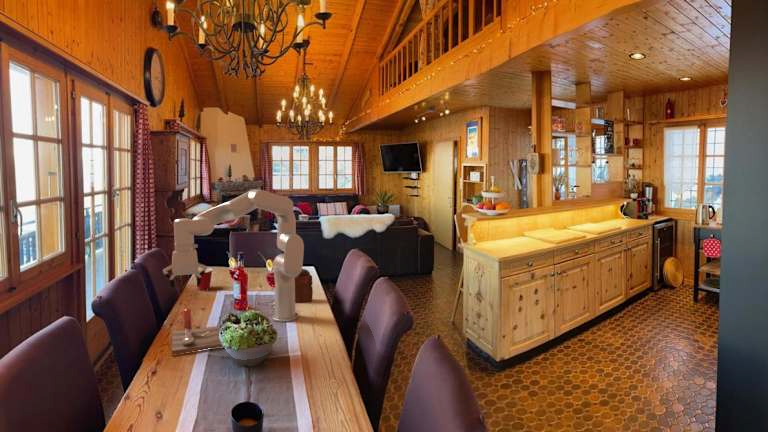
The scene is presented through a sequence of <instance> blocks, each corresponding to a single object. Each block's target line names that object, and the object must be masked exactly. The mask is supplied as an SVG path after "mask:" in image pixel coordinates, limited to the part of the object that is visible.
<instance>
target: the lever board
mask: <svg viewBox="0 0 768 432" xmlns="http://www.w3.org/2000/svg"><path fill="white" fill-rule="evenodd" d="M219 329H220V330H221V328H220V325H216V326H209V327H202V328H201V327H200V328H192V329H191V337H194V344H192V345H188V346H185V345H183V338H185V331H184V330H177V331H172V343H171V356H172V355H174V354H180V353H186V352H192V351H198V350H203V349H208V348H216V347H222V345H221V342H220V340H219ZM174 356H175V355H174Z"/></svg>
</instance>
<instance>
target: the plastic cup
mask: <svg viewBox="0 0 768 432" xmlns="http://www.w3.org/2000/svg"><path fill="white" fill-rule="evenodd" d="M202 270H203V268H198V272H199V273H200V272H201V271H202ZM213 270H214V269H213V268H212V267H211V268H210V267H209V268H208V267H207V269H206V271H205V273H204V274H203V275H202V276H201V278H200V279H201V284H200V285H199V287H198V290H199V291H201V290H205V291H208V290H207V289H209V290H210V287H211V282H212V274H213ZM194 275H195V278H196V280H197V275H196V274H194Z"/></svg>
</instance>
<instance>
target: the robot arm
mask: <svg viewBox="0 0 768 432" xmlns="http://www.w3.org/2000/svg"><path fill="white" fill-rule="evenodd" d="M256 209H259V210H263V211H266V212H271V213H272V214H274V215H275V217H276V220H277V235H276V246H277V248H278V250H280V251H282V252H283V253H279V254H278V255H276V256H275V258H274V260H273V261H272V270H273V276H274V298H275V299H274V304H275V305H274V306H275V308H274V310H275V311H274V314H273V315H272V320H273V321H275V322H280V323H282V322H292V321H295V320H297V319H298V318H299V313H298V312H296V302H295V278H294V277H296V276H298V275H299V274H300V272H301V270H302V269H303V267H304V265H303V264H304V255H305V253H304V251H305V243H304V240H303V238H302V237H301V236H300V235H298V234H297V231H296V229H297V227H296V225H297V224H296V223H297V221H296V216H295V212H294V211H293V210H294V202H293V200H292V199H291V198H289V197H287V196H284V195H280V194H277V193H273V192H270V191H268V190H263V189H257V188H254V189H251V190H248V191H246V192H245V193H243V194H241V195H239V196H237V197H234V198H233V199H230V200H229V201H227V202H224V203H221V204H219V205H217V206H215V207H212V208H210V209H209V208H208V209H207V210H205V211H204V212H201V213H200V214H197V215H196V216H194V217H193V218H192V219H191V218H186V217H185V218H177V219H175V220H174V221H173V236H174V237H173V239H174V240H173V241H174V250H173V251H172V256H171V264H170V265H169V266H166V267H165V268H163V269H162V272H163V274H164V276H165V277H166V278H168V280H170V281H169V282H170V288H172V290H175V279H174V278H175V277H176V276H185V275H186V276H187V275H195V274H196V275H197V279H196V286H197V287H198V288H199V285H200V284H201V279H200V278H201V276H202V275H203V274H204V273H205V271H206V269H207V268H208V266H206V265H205V264H202V263H200V262H198V261H199V260H198V252H197V249H196V248H198V247H199V246H198V244H196V243H195V238H194V237H195V236H202V237H203V236H208V235H211V234H212V232H213V231H214V230H215V225H218V224H220V223H223V222H228V221H234V220H237V219H240V218H241V217H243V216H245V215H247V214H249V213H250V212H252V211H254V210H256ZM199 268H200V269H203V270H202V271H201V272H200V273H199V272H198V270H199ZM170 270H171V274H170V273H169V272H168V271H170Z"/></svg>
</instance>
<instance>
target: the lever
mask: <svg viewBox="0 0 768 432" xmlns="http://www.w3.org/2000/svg"><path fill="white" fill-rule="evenodd" d="M182 314H183V316H182V317H183V331H185V338H183V345H185V346H188V345H192V344H194V337H191V330H192V329H193V328H192V310H191V308H189V307H188V308H183V309H182Z"/></svg>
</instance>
